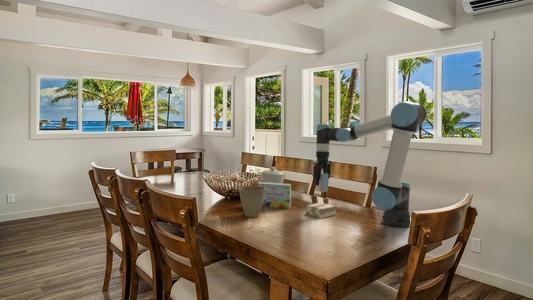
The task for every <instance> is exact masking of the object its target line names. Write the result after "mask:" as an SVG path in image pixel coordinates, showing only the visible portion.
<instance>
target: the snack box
mask: <svg viewBox="0 0 533 300" xmlns="http://www.w3.org/2000/svg"><path fill="white" fill-rule="evenodd" d="M256 186H261V187H264V188H265V194H264V199H263V204H262V207H263V208H264V207H265V208H267V207H268V208H275V209H276V208H278V209H287V210H288V209H291V207H292V183H284V182H283V183H268V182H262V181H258V182H257V185H256Z"/></svg>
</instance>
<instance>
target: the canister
mask: <svg viewBox="0 0 533 300" xmlns="http://www.w3.org/2000/svg"><path fill="white" fill-rule="evenodd" d="M260 174H261V175H260V176H261V179H262V178H263V182H268V183H283V184H284V180H285V175H286V173H285V172H284V171H282V170H278V169H277V170H276V167H275V166H271V167H270V168H269V169H266V170H263V171H261V172H260Z"/></svg>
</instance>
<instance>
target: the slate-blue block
mask: <svg viewBox="0 0 533 300" xmlns="http://www.w3.org/2000/svg"><path fill="white" fill-rule="evenodd" d="M320 180H321V189H320V191H319V192H321V193H324V192H325V193H326V192H328V191H329V179H328V174H325V173H323V172H321V176H320Z"/></svg>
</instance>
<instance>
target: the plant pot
mask: <svg viewBox="0 0 533 300" xmlns="http://www.w3.org/2000/svg"><path fill="white" fill-rule="evenodd" d="M238 189H239V196H240V197H239V198H240V202H241V205H242V210H243V212H244V215H245V216H246V217H247V218H257V217H259V215H260V213H261V209H262V207H263V206H262V204H263V199H264V194H265V188H264V187H261V186H257V185H244V186H240V187H239V188H238Z"/></svg>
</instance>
